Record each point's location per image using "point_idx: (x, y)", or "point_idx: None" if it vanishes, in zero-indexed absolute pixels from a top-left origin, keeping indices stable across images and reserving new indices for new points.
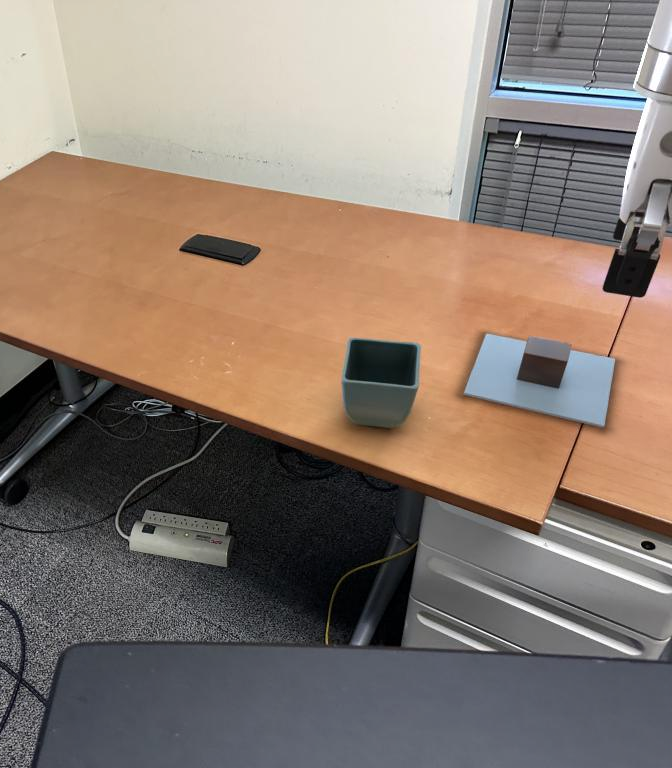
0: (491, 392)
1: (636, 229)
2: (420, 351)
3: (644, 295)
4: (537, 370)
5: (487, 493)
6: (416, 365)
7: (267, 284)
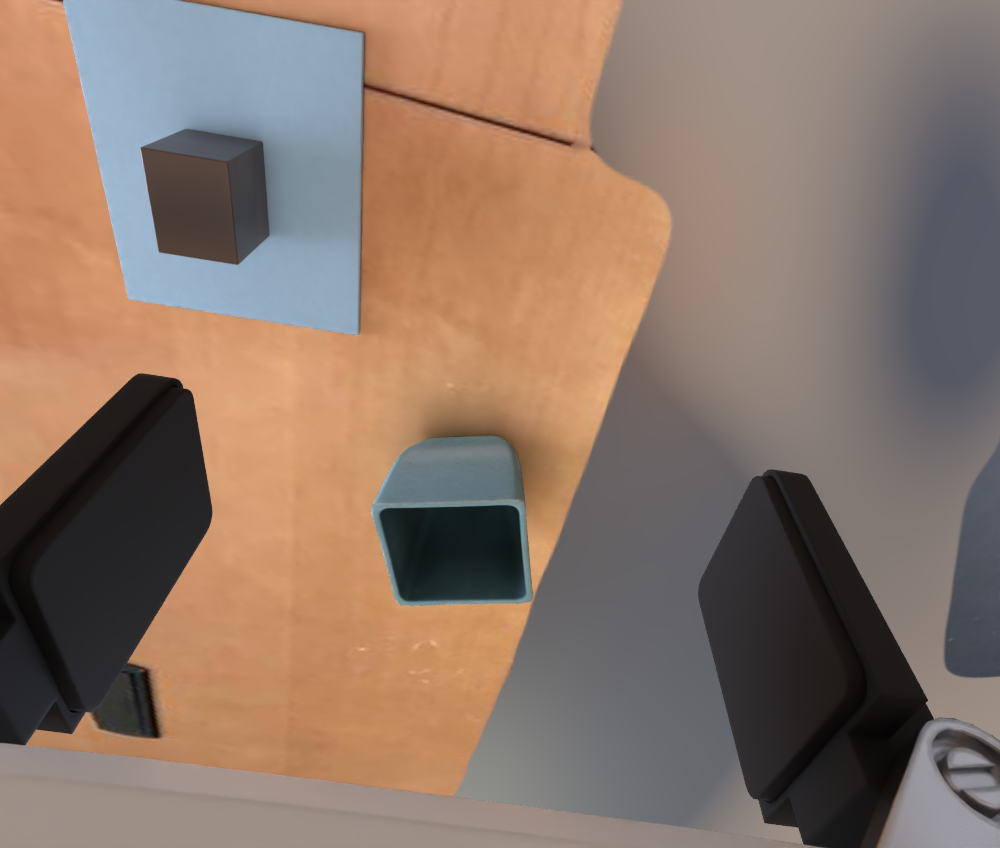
0: (336, 285)
1: (166, 508)
2: (399, 503)
3: (807, 479)
4: (252, 211)
5: (633, 282)
6: (449, 506)
7: (181, 635)
